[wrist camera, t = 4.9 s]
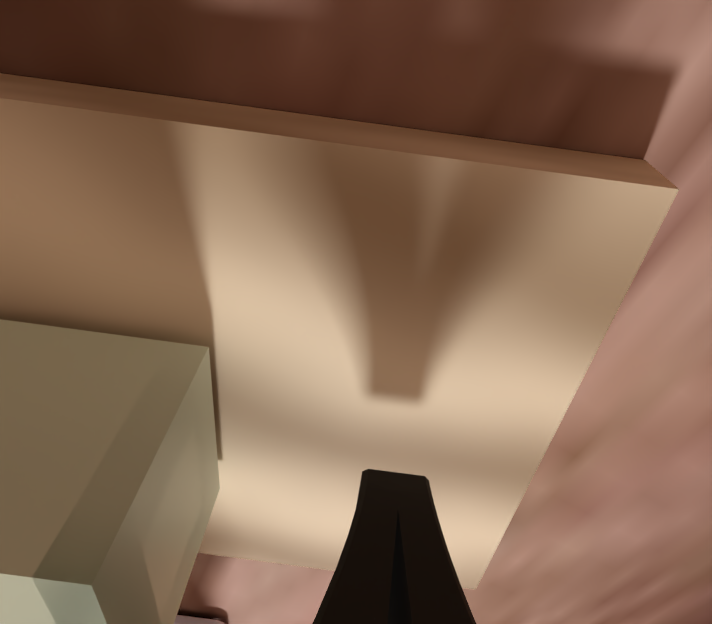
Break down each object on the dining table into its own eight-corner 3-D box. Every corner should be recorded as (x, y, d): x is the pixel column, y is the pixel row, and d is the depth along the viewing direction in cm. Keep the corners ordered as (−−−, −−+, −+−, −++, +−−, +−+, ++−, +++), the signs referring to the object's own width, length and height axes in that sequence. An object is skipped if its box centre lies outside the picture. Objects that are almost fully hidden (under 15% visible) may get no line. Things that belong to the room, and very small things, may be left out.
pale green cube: (219, 488, 14) (140, 720, 10) (0, 459, 14) (-176, 678, 10) (208, 346, 11) (88, 592, 7) (-71, 309, 11) (-368, 533, 7)
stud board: (470, 546, 18) (499, 793, 13) (-145, 464, 18) (-375, 679, 13) (644, 160, 10) (928, 401, 5) (-485, 7, 10) (-1535, 72, 4)
